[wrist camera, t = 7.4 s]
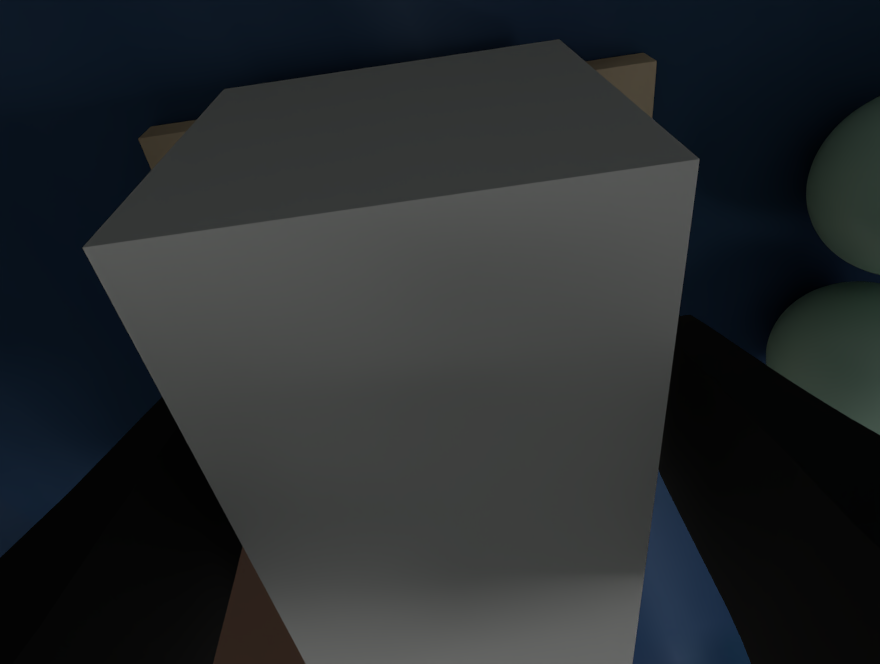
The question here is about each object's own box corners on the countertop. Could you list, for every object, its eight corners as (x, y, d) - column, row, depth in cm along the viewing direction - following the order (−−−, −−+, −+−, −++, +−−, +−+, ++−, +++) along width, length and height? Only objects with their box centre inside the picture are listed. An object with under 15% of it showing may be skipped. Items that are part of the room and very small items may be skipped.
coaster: (643, 53, 10) (656, 60, 9) (618, 414, 14) (626, 432, 14) (150, 126, 10) (138, 138, 9) (286, 459, 14) (283, 479, 14)
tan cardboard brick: (576, 488, 16) (638, 692, 12) (574, 592, 19) (624, 784, 15) (238, 533, 16) (186, 748, 12) (290, 629, 19) (261, 828, 15)
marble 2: (903, 243, 12) (1034, 330, 10) (860, 360, 14) (961, 459, 11) (752, 264, 12) (843, 357, 10) (729, 377, 14) (800, 480, 11)
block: (224, 89, 9) (83, 248, 5) (559, 39, 9) (700, 158, 5) (351, 484, 14) (334, 717, 10) (562, 456, 14) (629, 680, 10)
